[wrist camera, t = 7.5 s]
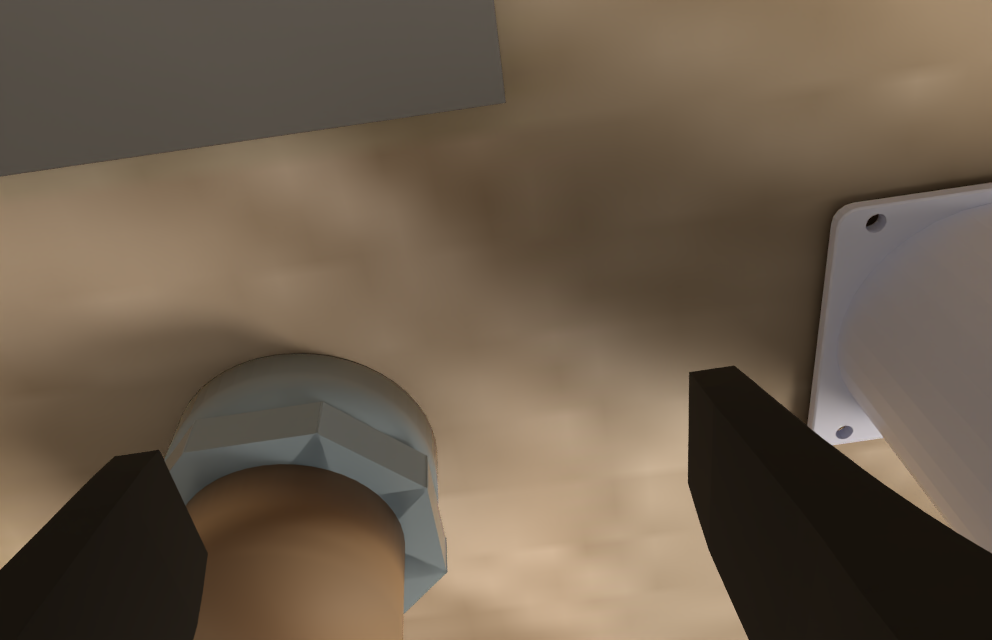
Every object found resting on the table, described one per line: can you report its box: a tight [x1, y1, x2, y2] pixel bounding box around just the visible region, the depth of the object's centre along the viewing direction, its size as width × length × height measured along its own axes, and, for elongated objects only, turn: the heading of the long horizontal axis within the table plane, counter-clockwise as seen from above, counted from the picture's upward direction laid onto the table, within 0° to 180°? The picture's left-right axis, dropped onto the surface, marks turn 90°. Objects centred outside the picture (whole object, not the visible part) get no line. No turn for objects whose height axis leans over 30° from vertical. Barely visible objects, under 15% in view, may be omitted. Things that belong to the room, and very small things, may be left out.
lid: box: [186, 464, 405, 640], centre depth 19 cm, size 6×6×3 cm
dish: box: [164, 354, 447, 613], centre depth 22 cm, size 8×8×4 cm
